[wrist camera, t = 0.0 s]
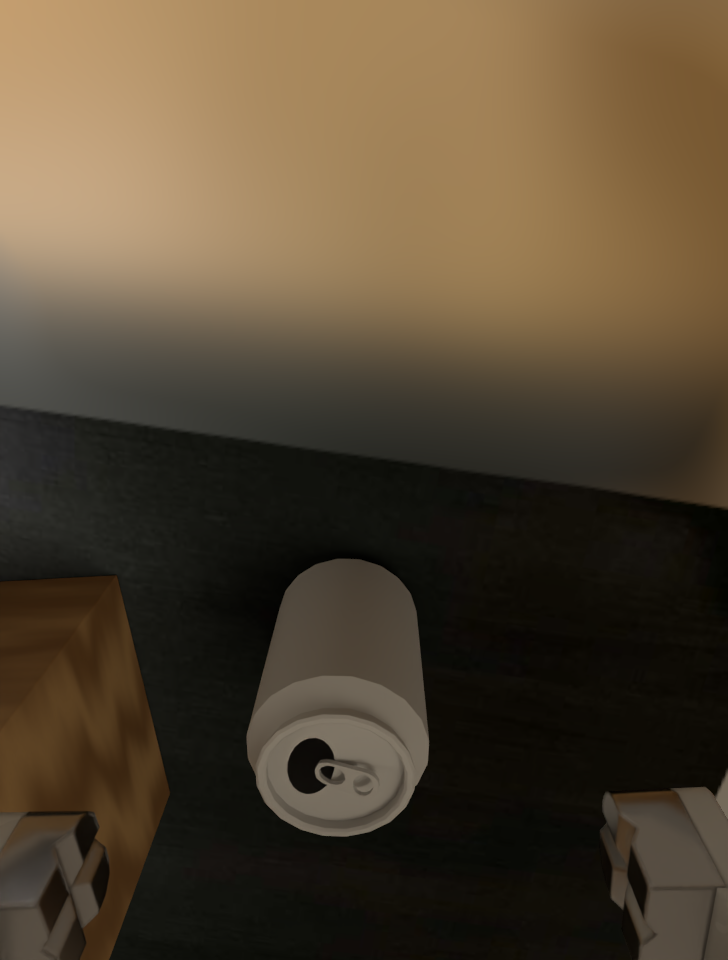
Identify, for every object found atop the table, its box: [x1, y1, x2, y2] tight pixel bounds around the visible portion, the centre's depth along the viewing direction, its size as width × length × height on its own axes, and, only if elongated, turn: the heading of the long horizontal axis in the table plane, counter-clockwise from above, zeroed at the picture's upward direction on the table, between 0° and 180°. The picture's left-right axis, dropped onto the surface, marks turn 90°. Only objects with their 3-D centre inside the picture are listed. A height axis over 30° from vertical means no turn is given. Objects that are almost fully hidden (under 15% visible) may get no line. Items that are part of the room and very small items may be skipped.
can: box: [247, 559, 429, 836], centre depth 30 cm, size 8×8×12 cm
